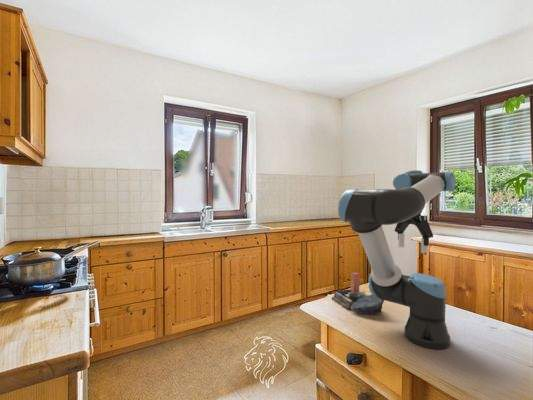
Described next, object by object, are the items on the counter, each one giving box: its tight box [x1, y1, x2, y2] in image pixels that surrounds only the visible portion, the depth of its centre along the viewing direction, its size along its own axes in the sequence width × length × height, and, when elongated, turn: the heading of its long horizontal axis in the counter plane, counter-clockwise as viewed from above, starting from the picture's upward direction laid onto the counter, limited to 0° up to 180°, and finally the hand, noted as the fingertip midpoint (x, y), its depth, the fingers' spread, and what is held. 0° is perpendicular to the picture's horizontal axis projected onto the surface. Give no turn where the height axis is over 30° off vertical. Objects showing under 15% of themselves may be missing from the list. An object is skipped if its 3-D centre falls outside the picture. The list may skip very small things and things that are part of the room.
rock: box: [351, 294, 385, 316], centre depth 130 cm, size 16×8×10 cm
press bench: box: [331, 288, 368, 311], centre depth 142 cm, size 14×16×4 cm
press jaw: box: [345, 271, 366, 303], centre depth 140 cm, size 4×9×14 cm, turn 107°
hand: (412, 249), depth 131 cm, fingers open, 13 cm apart
